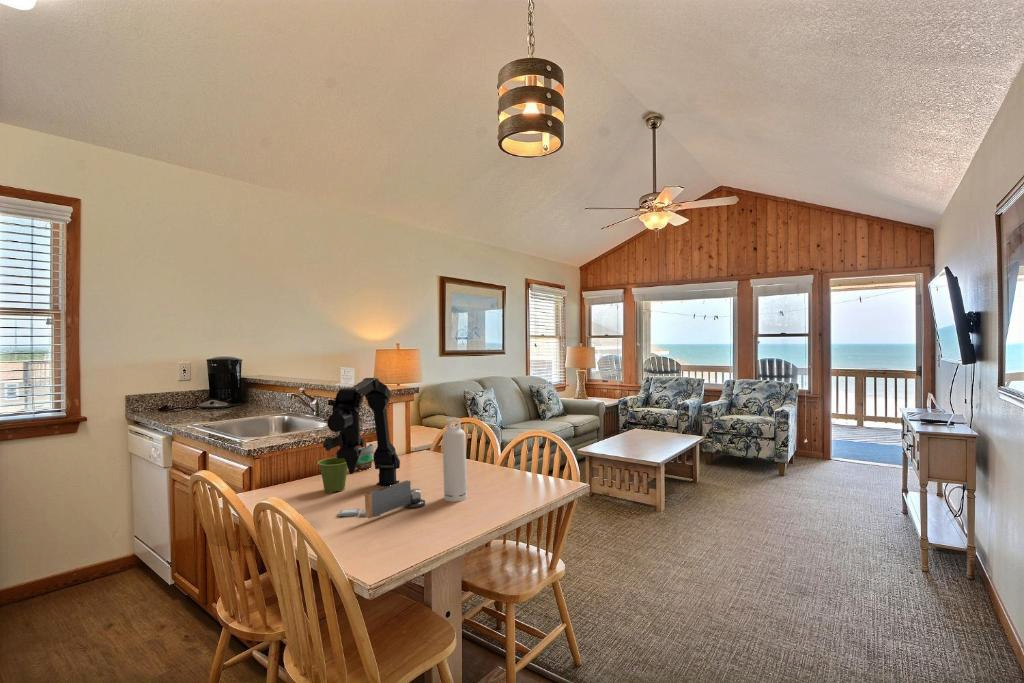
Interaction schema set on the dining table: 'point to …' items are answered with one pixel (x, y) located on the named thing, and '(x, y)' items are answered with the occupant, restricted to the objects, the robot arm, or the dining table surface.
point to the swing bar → (390, 498)
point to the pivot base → (416, 504)
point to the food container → (365, 458)
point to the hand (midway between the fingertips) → (351, 473)
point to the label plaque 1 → (349, 512)
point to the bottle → (454, 462)
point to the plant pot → (333, 473)
